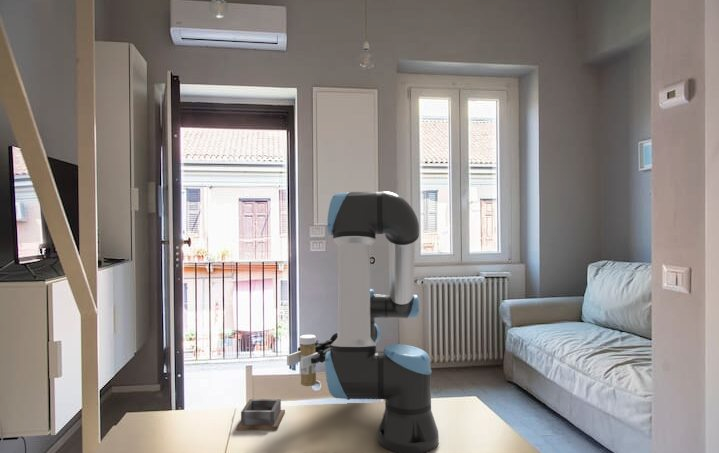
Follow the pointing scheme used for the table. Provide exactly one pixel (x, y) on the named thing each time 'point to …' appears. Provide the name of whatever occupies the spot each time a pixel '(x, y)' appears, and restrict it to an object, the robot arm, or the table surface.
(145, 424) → the table surface
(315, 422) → the table surface
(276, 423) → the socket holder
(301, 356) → the sprinkles bottle
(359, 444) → the table surface
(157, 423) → the table surface
